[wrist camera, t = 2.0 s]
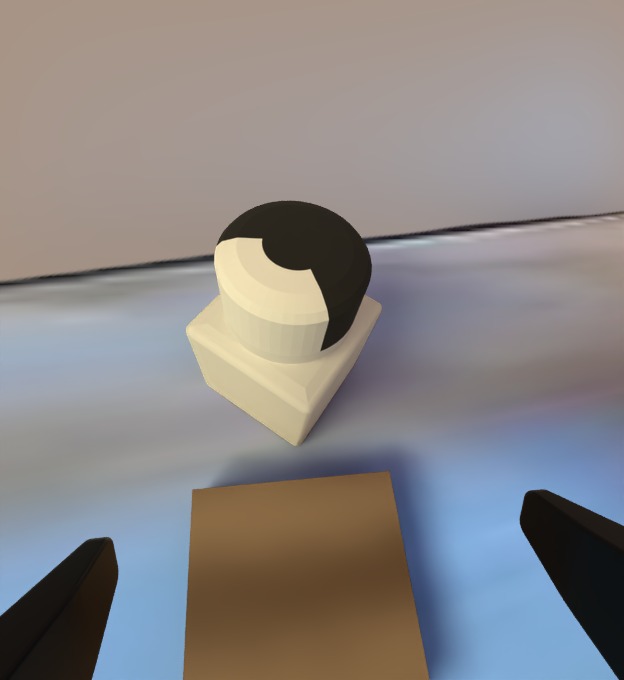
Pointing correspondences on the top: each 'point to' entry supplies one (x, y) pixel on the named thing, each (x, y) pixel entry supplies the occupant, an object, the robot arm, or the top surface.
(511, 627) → the top surface
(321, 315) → the medicine bottle
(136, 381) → the top surface
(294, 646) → the walnut block
